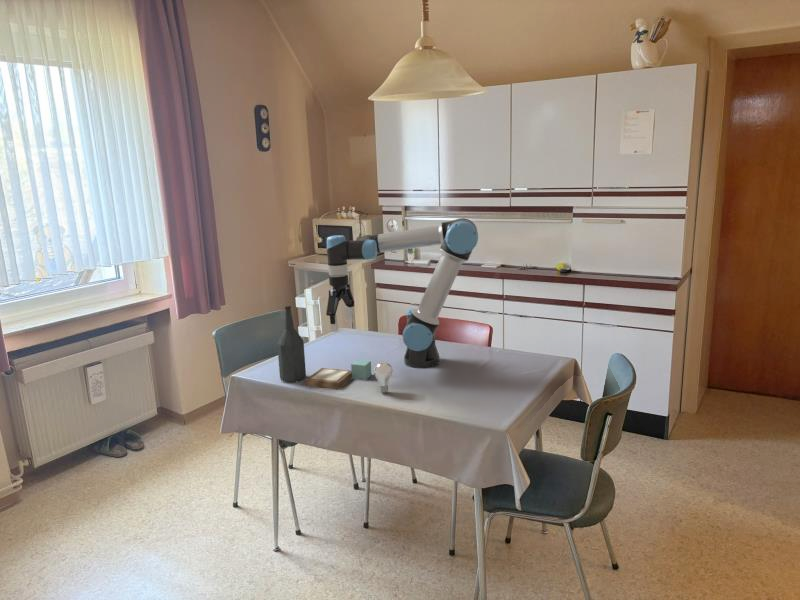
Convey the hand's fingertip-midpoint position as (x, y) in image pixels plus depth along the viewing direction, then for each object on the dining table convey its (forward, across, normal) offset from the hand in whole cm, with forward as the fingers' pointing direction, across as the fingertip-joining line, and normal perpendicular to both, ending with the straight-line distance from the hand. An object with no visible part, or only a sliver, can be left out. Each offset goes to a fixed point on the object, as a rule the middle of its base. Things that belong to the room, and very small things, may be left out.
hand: (342, 326), depth 245 cm
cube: (+20, +3, +9) cm, 21 cm away
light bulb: (+20, +16, +24) cm, 35 cm away
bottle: (+19, +12, -17) cm, 29 cm away
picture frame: (+19, +11, -1) cm, 22 cm away
